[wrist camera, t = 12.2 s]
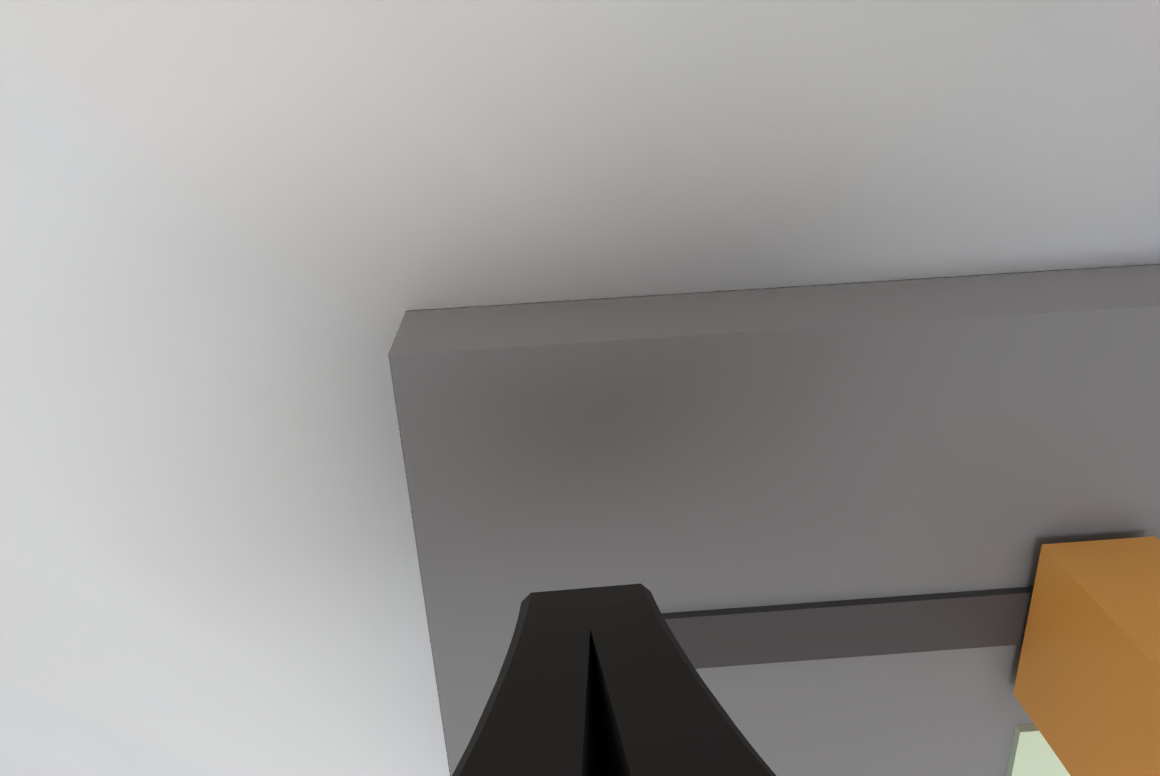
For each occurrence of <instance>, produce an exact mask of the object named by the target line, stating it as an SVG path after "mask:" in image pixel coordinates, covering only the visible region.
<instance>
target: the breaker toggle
mask: <svg viewBox="0 0 1160 776" xmlns="http://www.w3.org/2000/svg"><path fill="white" fill-rule="evenodd" d="M1013 694H1014V696H1015V697H1016V698H1017V700H1018V701H1019V703H1020V704H1021V706H1022V707H1023V708H1024V710H1025V711H1026V713H1027V714H1028V716H1029V717H1030V718H1031V720H1032V721H1033V723H1034V724H1035V726H1036V727H1037V728H1038V730H1039V731H1040V733H1041V734H1042V736H1043V737H1044V738H1045V740H1046V741H1047V743H1048V744H1049V746H1050V747H1051V748H1052V750H1053V751H1054V753H1055V754H1056V756H1057V757H1058V759H1059V760H1060V761H1061V763H1062V764H1063V766H1064V767H1065V769H1066V770H1067V771H1068V773H1069V774H1070V776H1160V540H1159V539H1158V538H1157V537H1156V536H1151V537H1137V538H1123V539H1109V540H1095V541H1081V542H1067V543H1053V544H1042V547H1041V552H1040V557H1039V562H1038V567H1037V572H1036V578H1035V583H1034V588H1033V593H1032V598H1031V603H1030V609H1029V614H1028V619H1027V624H1026V629H1025V634H1024V640H1023V645H1022V650H1021V655H1020V660H1019V665H1018V671H1017V676H1016V681H1015V686H1014V691H1013Z"/></svg>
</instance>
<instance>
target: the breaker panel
mask: <svg viewBox="0 0 1160 776" xmlns="http://www.w3.org/2000/svg"><path fill="white" fill-rule="evenodd" d="M389 361H390V368H391V375H392V382H393V389H394V395H395V402H396V409H397V416H398V423H399V430H400V436H401V443H402V450H403V457H404V464H405V471H406V478H407V484H408V491H409V498H410V505H411V512H412V519H413V525H414V532H415V539H416V546H417V553H418V560H419V566H420V573H421V580H422V587H423V594H424V601H425V608H426V614H427V621H428V628H429V635H430V642H431V649H432V655H433V662H434V669H435V676H436V683H437V690H438V696H439V703H440V710H441V717H442V724H443V731H444V738H445V744H446V751H447V758H448V765H449V772H450V776H452V774H453V773H454V771H455V769H456V767H457V765H458V763H459V761H460V759H461V757H462V755H463V753H464V752H465V750H466V748H467V746H468V744H469V741H470V739H471V737H472V735H473V733H474V731H475V729H476V726H477V724H478V722H479V720H480V717H481V715H482V713H483V710H484V708H485V706H486V704H487V701H488V699H489V697H490V695H491V692H492V690H493V688H494V685H495V683H496V681H497V678H498V676H499V673H500V670H501V668H502V665H503V662H504V660H505V657H506V655H507V652H508V649H509V646H510V643H511V640H512V637H513V634H514V630H515V627H516V623H517V620H518V616H519V611H520V606H521V602H522V601H523V600H524V599H525V598H526V597H527V596H528V595H529V594H530V593H532V592H544V591H556V590H568V589H580V588H592V587H604V586H616V585H628V584H640V583H641V584H642V585H644V586H645V587H646V588H647V589H648V590H650V591H651V593H652V595H653V597H654V600H655V602H656V604H657V606H658V608H659V610H660V612H661V614H662V615H663V617H664V619H665V621H666V623H667V624H668V626H669V628H670V630H671V631H672V633H673V635H674V636H675V638H676V640H677V641H678V643H679V644H680V646H681V648H682V649H683V651H684V652H685V654H686V655H687V657H688V659H689V660H690V662H691V663H692V665H693V666H694V668H695V669H696V671H697V672H698V674H699V675H700V677H701V678H702V680H703V681H704V683H705V684H706V685H707V687H708V688H709V689H710V691H711V692H712V694H713V695H714V696H715V698H716V699H717V700H718V702H719V703H720V704H721V706H722V707H723V709H724V710H725V711H726V713H727V714H728V715H729V717H730V718H731V720H732V721H733V722H734V724H735V725H736V726H737V728H738V729H739V730H740V731H741V733H742V734H743V735H744V737H745V738H746V739H747V740H748V742H749V743H750V744H751V745H752V747H753V748H754V749H755V751H756V752H757V753H758V754H759V755H760V757H761V758H762V759H763V760H764V761H765V763H766V764H767V765H768V766H769V767H770V769H771V770H772V771H773V772H774V773H775V775H776V776H1070V774H1069V773H1068V771H1067V770H1066V769H1065V767H1064V766H1063V764H1062V763H1061V761H1060V760H1059V759H1058V757H1057V756H1056V754H1055V753H1054V751H1053V750H1052V748H1051V747H1050V746H1049V744H1048V743H1047V741H1046V740H1045V738H1044V737H1043V736H1042V734H1041V733H1040V731H1039V730H1038V728H1037V727H1036V726H1035V724H1034V723H1033V721H1032V720H1031V718H1030V717H1029V716H1028V714H1027V713H1026V711H1025V710H1024V708H1023V707H1022V706H1021V704H1020V703H1019V701H1018V700H1017V698H1016V697H1015V696H1014V694H1013V691H1014V686H1015V681H1016V676H1017V671H1018V665H1019V660H1020V655H1021V650H1022V645H1023V640H1024V634H1025V629H1026V624H1027V619H1028V614H1029V609H1030V603H1031V598H1032V593H1033V588H1034V583H1035V578H1036V572H1037V567H1038V562H1039V557H1040V552H1041V547H1042V544H1053V543H1067V542H1081V541H1095V540H1109V539H1123V538H1137V537H1151V536H1156V537H1157V538H1158V539H1159V540H1160V264H1154V265H1138V266H1122V267H1106V268H1090V269H1074V270H1058V271H1042V272H1026V273H1010V274H994V275H978V276H962V277H946V278H930V279H914V280H898V281H882V282H866V283H850V284H834V285H818V286H802V287H786V288H769V289H753V290H737V291H721V292H705V293H689V294H673V295H657V296H641V297H625V298H609V299H593V300H577V301H561V302H545V303H529V304H513V305H497V306H481V307H465V308H449V309H433V310H417V311H406V313H405V315H404V318H403V320H402V323H401V325H400V328H399V330H398V333H397V335H396V338H395V340H394V343H393V345H392V348H391V350H390V353H389Z"/></svg>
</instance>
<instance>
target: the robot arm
mask: <svg viewBox="0 0 1160 776" xmlns="http://www.w3.org/2000/svg"><path fill="white" fill-rule="evenodd" d="M452 776H776V775H775V773H774V772H773V771H772V770H771V769H770V767H769V766H768V765H767V764H766V763H765V761H764V760H763V759H762V758H761V757H760V755H759V754H758V753H757V752H756V751H755V749H754V748H753V747H752V745H751V744H750V743H749V742H748V740H747V739H746V738H745V737H744V735H743V734H742V733H741V731H740V730H739V729H738V728H737V726H736V725H735V724H734V722H733V721H732V720H731V718H730V717H729V715H728V714H727V713H726V711H725V710H724V709H723V707H722V706H721V704H720V703H719V702H718V700H717V699H716V698H715V696H714V695H713V694H712V692H711V691H710V689H709V688H708V687H707V685H706V684H705V683H704V681H703V680H702V678H701V677H700V675H699V674H698V672H697V671H696V669H695V668H694V666H693V665H692V663H691V662H690V660H689V659H688V657H687V655H686V654H685V652H684V651H683V649H682V648H681V646H680V644H679V643H678V641H677V640H676V638H675V636H674V635H673V633H672V631H671V630H670V628H669V626H668V624H667V623H666V621H665V619H664V617H663V615H662V614H661V612H660V610H659V608H658V606H657V604H656V602H655V600H654V597H653V595H652V593H651V591H650V590H648V589H647V588H646V587H645V586H644V585H642V584H641V583H640V584H628V585H616V586H604V587H592V588H580V589H568V590H556V591H544V592H532V593H530V594H529V595H528V596H527V597H526V598H525V599H524V600H523V601H522V602H521V606H520V611H519V616H518V620H517V623H516V627H515V630H514V634H513V637H512V640H511V643H510V646H509V649H508V652H507V655H506V657H505V660H504V662H503V665H502V668H501V670H500V673H499V676H498V678H497V681H496V683H495V685H494V688H493V690H492V692H491V695H490V697H489V699H488V701H487V704H486V706H485V708H484V710H483V713H482V715H481V717H480V720H479V722H478V724H477V726H476V729H475V731H474V733H473V735H472V737H471V739H470V741H469V744H468V746H467V748H466V750H465V752H464V753H463V755H462V757H461V759H460V761H459V763H458V765H457V767H456V769H455V771H454V773H453V774H452Z"/></svg>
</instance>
